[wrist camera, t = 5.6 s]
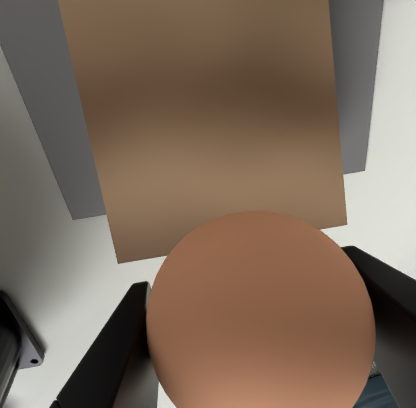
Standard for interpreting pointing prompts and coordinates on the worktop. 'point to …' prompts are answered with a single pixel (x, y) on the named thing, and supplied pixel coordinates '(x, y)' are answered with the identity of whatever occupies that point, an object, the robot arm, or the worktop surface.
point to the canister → (376, 395)
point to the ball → (260, 317)
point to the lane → (72, 108)
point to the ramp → (206, 113)
